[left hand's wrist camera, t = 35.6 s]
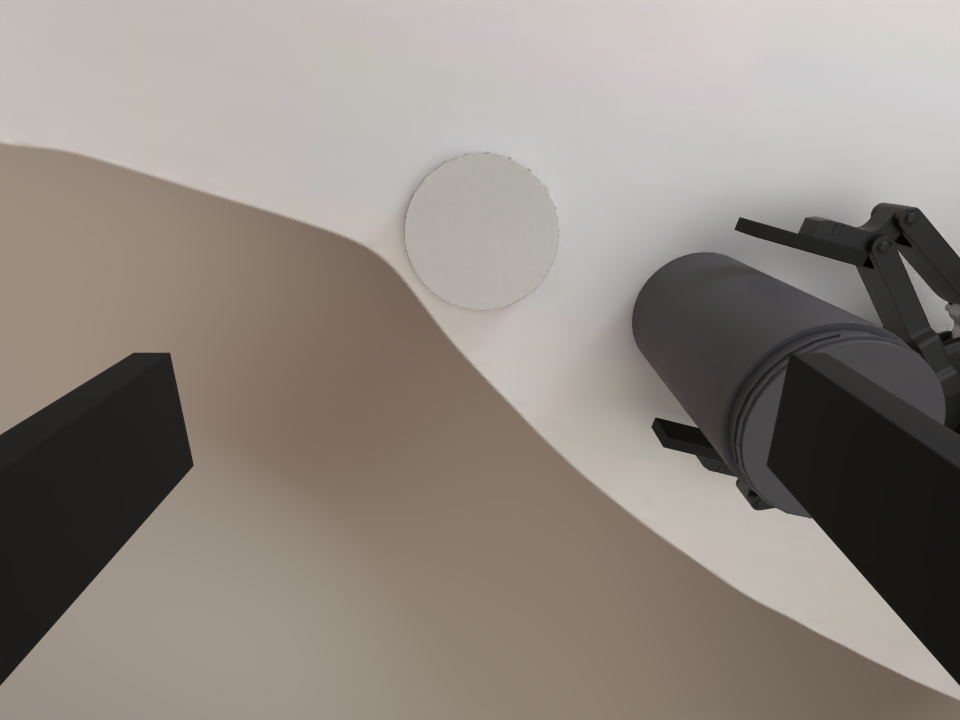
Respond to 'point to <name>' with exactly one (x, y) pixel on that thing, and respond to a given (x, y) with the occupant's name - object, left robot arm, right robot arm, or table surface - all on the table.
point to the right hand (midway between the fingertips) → (699, 336)
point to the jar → (758, 356)
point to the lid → (481, 231)
